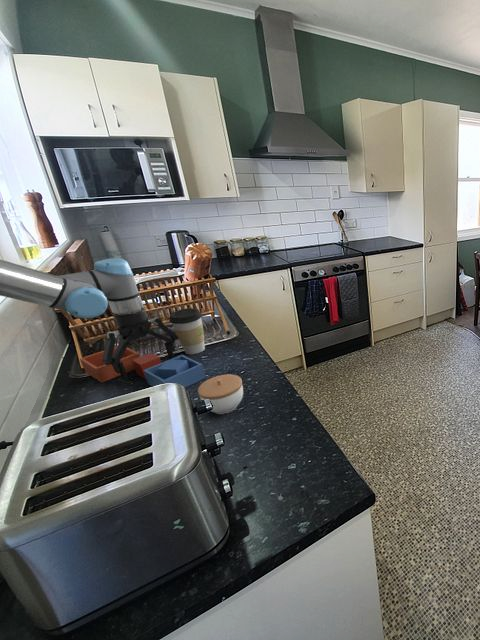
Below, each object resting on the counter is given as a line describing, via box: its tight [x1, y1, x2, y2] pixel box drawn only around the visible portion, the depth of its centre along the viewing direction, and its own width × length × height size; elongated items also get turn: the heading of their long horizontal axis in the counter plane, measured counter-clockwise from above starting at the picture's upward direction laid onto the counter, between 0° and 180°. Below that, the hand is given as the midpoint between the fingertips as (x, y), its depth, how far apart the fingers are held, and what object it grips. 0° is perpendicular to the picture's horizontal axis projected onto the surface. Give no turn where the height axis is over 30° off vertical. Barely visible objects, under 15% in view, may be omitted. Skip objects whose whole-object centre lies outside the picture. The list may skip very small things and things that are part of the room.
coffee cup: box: [168, 307, 206, 355], centre depth 125 cm, size 10×10×15 cm
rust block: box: [132, 352, 162, 380], centre depth 112 cm, size 6×6×6 cm
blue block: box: [158, 359, 189, 380], centre depth 109 cm, size 6×6×6 cm
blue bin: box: [143, 354, 207, 388], centre depth 109 cm, size 11×11×5 cm
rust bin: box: [79, 345, 141, 383], centre depth 114 cm, size 11×11×5 cm
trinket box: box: [197, 373, 244, 415], centre depth 97 cm, size 11×11×9 cm
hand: (150, 369), depth 113 cm, fingers open, 13 cm apart
